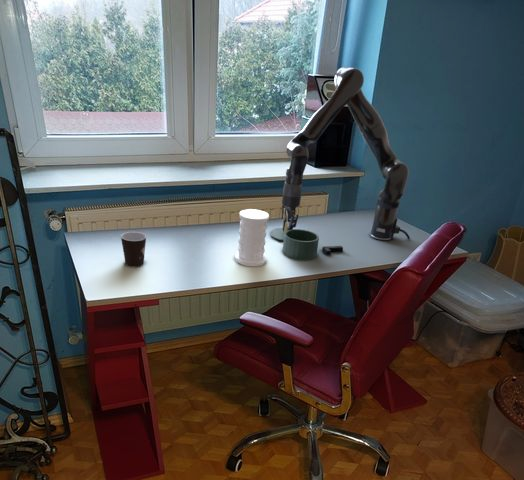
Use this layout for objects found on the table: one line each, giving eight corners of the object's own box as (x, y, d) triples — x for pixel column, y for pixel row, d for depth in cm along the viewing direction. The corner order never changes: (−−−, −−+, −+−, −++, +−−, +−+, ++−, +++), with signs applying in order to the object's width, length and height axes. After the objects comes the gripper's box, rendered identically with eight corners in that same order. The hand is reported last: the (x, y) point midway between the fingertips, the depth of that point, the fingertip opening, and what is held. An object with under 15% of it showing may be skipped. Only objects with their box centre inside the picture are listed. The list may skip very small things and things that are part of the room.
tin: (308, 246, 220) (311, 228, 216) (321, 259, 209) (324, 241, 205) (277, 247, 216) (280, 229, 212) (289, 260, 205) (291, 242, 201)
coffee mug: (135, 270, 185) (134, 242, 180) (117, 262, 189) (115, 236, 183) (157, 260, 194) (157, 234, 188) (139, 253, 197) (139, 228, 192)
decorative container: (230, 255, 204) (233, 209, 195) (258, 253, 209) (262, 208, 199) (241, 267, 196) (245, 220, 186) (270, 264, 200) (275, 218, 190)
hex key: (340, 250, 220) (341, 245, 219) (345, 254, 216) (346, 250, 215) (321, 250, 217) (322, 246, 216) (326, 255, 214) (327, 250, 213)
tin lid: (296, 230, 235) (298, 216, 232) (308, 242, 224) (310, 228, 220) (265, 230, 231) (266, 217, 227) (275, 243, 219) (277, 229, 216)
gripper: (306, 199, 213) (301, 239, 222) (294, 188, 224) (289, 227, 233) (289, 199, 210) (284, 239, 220) (277, 188, 222) (273, 227, 231)
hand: (287, 233), depth 226 cm, fingers open, 5 cm apart
